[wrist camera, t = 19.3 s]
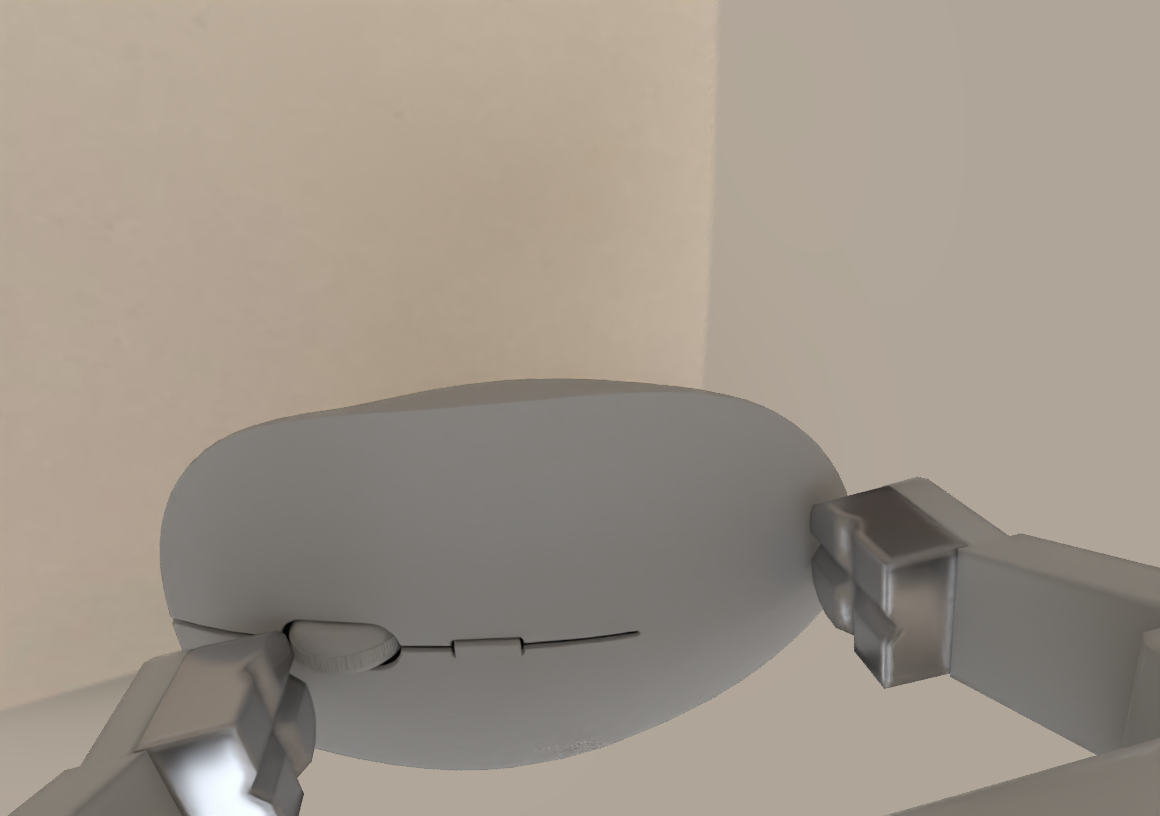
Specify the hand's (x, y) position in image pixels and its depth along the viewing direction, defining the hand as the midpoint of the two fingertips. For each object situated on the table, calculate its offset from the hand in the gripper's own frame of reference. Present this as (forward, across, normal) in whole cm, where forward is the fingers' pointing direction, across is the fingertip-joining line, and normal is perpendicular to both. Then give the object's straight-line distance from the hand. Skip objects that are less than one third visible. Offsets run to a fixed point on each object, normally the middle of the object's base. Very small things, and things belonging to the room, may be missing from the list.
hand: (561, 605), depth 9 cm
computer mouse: (+3, 0, 0) cm, 3 cm away
